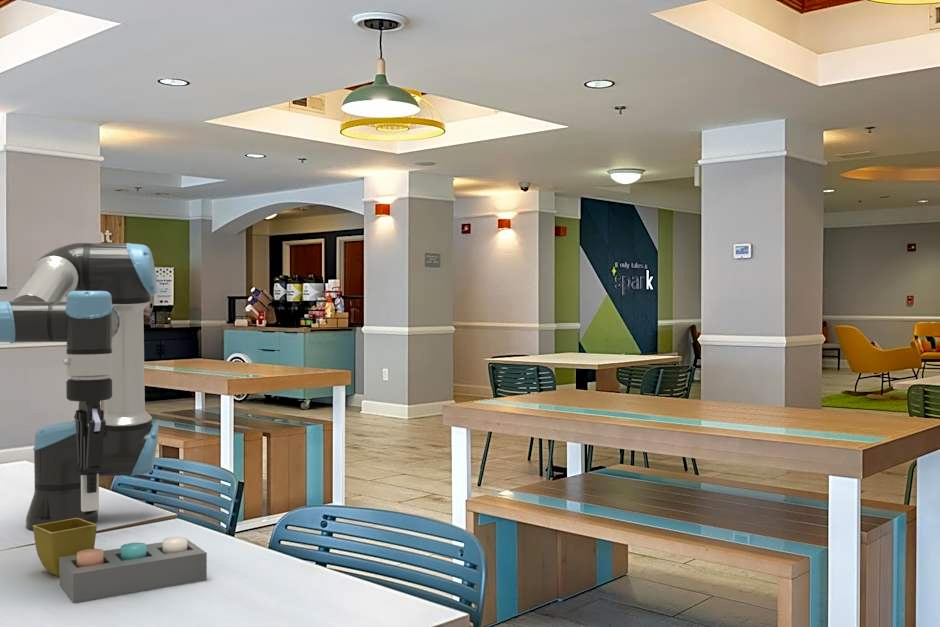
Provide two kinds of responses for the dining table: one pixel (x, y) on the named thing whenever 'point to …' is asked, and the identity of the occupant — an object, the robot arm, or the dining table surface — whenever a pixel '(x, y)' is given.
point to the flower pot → (62, 540)
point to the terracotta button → (89, 557)
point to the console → (131, 572)
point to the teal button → (133, 551)
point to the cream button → (174, 545)
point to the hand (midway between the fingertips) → (89, 509)
